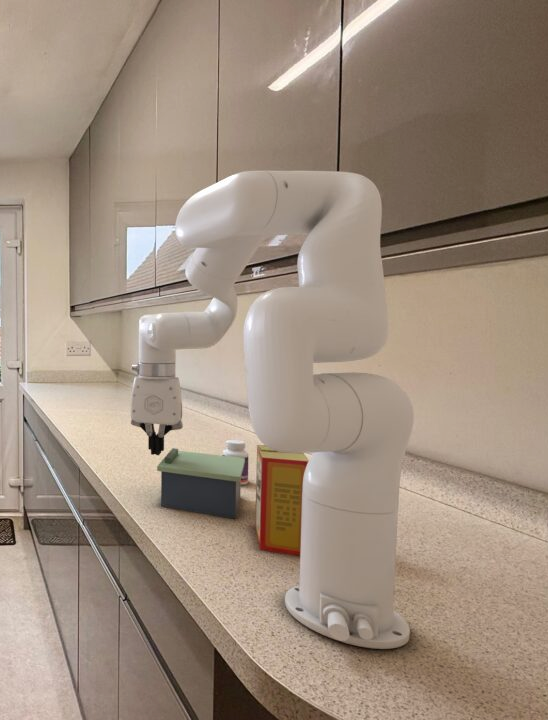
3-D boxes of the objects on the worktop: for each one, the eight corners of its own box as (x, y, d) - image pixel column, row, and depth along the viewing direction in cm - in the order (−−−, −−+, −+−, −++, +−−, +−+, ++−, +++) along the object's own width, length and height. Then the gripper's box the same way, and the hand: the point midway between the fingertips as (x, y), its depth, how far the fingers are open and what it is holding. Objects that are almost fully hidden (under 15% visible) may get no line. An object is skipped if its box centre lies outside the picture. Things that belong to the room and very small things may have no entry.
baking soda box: (306, 556, 80) (309, 459, 79) (260, 549, 83) (262, 455, 82) (297, 534, 88) (299, 445, 87) (255, 528, 91) (257, 442, 90)
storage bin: (235, 519, 95) (236, 480, 95) (161, 506, 103) (161, 470, 102) (240, 497, 107) (241, 463, 106) (173, 487, 114) (173, 455, 114)
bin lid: (240, 482, 94) (240, 470, 94) (157, 470, 102) (157, 460, 102) (244, 462, 107) (245, 452, 106) (170, 454, 115) (170, 444, 114)
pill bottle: (244, 479, 119) (244, 439, 118) (251, 486, 114) (252, 444, 113) (219, 477, 120) (220, 438, 120) (225, 484, 115) (226, 443, 115)
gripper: (117, 371, 109) (117, 453, 110) (191, 373, 101) (190, 462, 102) (126, 368, 115) (126, 446, 116) (196, 370, 107) (195, 453, 108)
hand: (156, 453), depth 109 cm, fingers closed
